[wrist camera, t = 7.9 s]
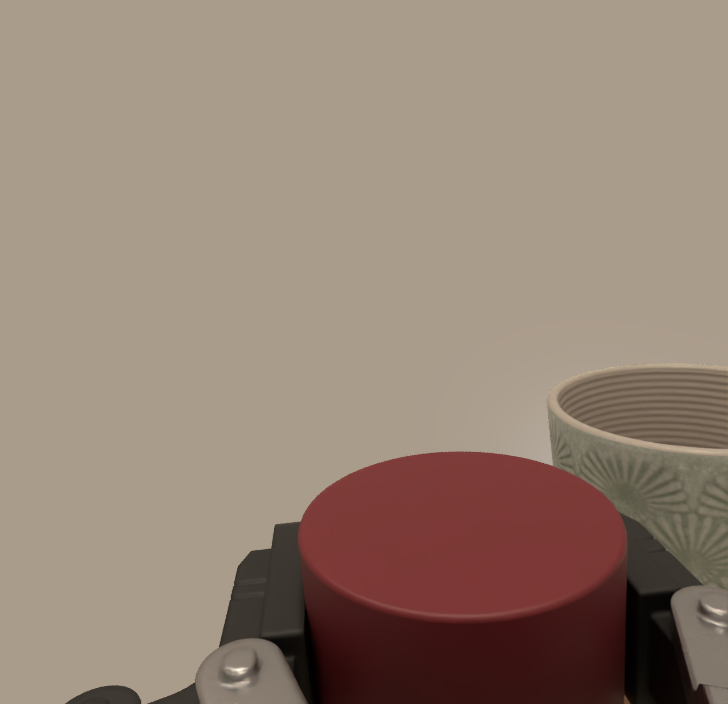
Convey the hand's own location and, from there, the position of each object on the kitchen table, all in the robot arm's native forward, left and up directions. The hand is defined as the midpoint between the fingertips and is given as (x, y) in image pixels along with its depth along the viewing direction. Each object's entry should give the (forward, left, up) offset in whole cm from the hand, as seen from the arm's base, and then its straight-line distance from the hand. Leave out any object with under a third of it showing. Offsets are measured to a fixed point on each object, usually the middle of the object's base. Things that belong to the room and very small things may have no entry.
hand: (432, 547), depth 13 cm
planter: (+29, -11, -22) cm, 37 cm away
